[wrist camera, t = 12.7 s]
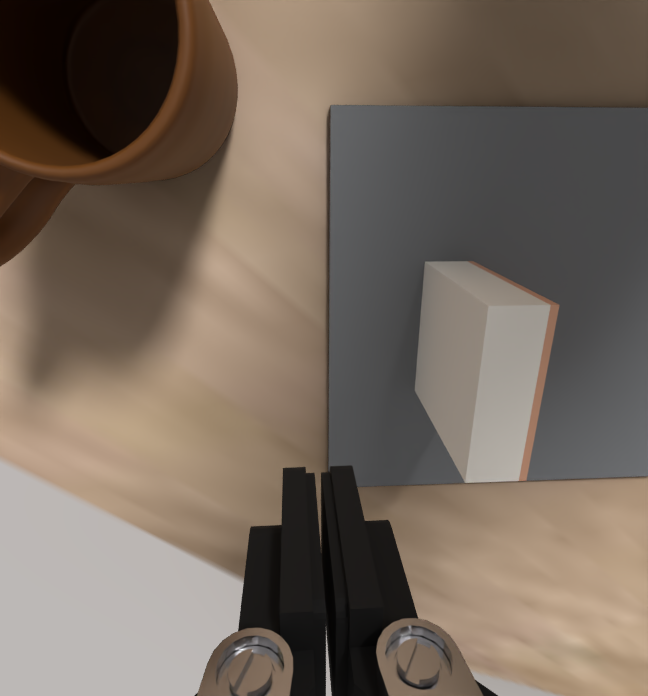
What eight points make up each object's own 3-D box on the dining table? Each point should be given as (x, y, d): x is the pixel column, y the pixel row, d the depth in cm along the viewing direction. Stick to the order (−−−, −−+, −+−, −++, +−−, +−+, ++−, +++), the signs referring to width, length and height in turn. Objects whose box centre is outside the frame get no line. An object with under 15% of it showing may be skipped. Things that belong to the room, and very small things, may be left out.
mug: (131, 288, 23) (28, 362, 14) (-21, 187, 21) (-253, 199, 12) (276, 70, 20) (262, -10, 11) (116, -73, 18) (-58, -310, 9)
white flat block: (424, 261, 23) (488, 305, 15) (472, 261, 23) (559, 304, 15) (414, 390, 25) (465, 482, 18) (458, 389, 25) (526, 480, 18)
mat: (330, 106, 20) (330, 105, 20) (760, 110, 21) (768, 108, 21) (328, 483, 28) (328, 487, 27) (651, 471, 29) (656, 475, 28)
